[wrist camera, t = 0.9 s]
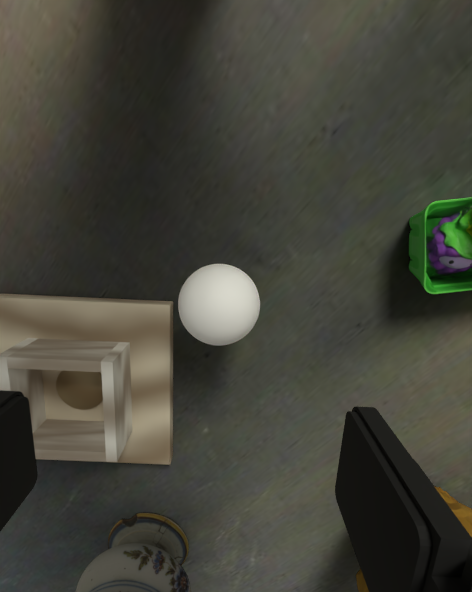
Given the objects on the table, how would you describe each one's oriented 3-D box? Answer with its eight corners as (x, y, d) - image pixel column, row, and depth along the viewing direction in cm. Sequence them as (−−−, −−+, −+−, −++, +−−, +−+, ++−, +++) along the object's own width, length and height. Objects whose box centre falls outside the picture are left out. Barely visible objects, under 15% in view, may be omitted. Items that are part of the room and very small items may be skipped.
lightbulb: (266, 289, 32) (281, 324, 21) (218, 325, 33) (210, 375, 22) (228, 240, 31) (224, 251, 20) (180, 278, 32) (151, 308, 21)
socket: (-7, 293, 32) (-61, 309, 26) (173, 301, 32) (159, 319, 26) (13, 448, 36) (-30, 492, 30) (172, 454, 36) (160, 499, 30)
